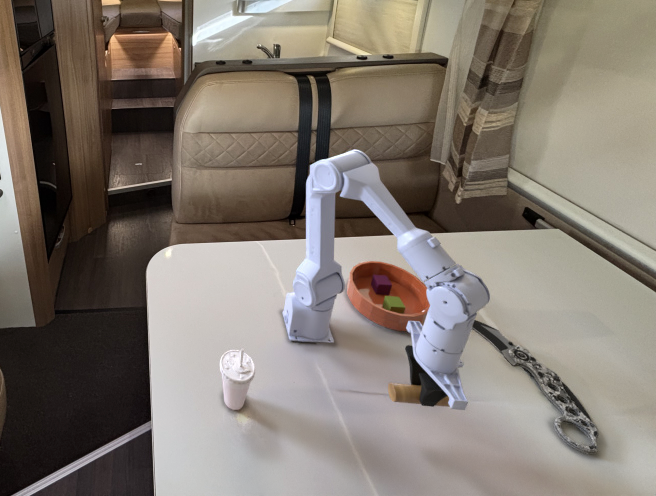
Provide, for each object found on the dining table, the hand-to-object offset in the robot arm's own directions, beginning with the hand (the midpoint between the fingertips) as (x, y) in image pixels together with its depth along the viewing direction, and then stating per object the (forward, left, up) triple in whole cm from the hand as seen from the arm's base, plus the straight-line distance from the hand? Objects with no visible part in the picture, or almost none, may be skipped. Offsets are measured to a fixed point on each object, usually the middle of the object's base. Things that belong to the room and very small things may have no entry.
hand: (422, 394), depth 74 cm
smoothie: (-31, +2, -8) cm, 33 cm away
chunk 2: (+8, +25, -8) cm, 28 cm away
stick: (0, 0, -2) cm, 2 cm away
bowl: (+8, +29, -8) cm, 31 cm away
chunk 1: (+8, +32, -8) cm, 34 cm away
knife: (+28, +12, -8) cm, 31 cm away
